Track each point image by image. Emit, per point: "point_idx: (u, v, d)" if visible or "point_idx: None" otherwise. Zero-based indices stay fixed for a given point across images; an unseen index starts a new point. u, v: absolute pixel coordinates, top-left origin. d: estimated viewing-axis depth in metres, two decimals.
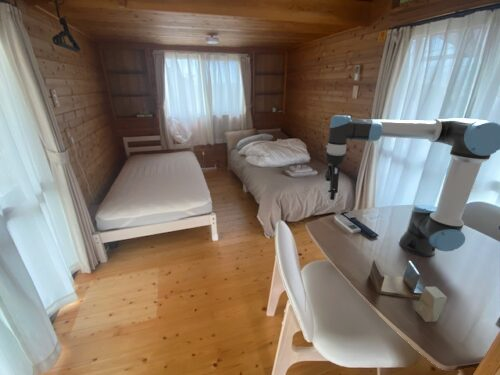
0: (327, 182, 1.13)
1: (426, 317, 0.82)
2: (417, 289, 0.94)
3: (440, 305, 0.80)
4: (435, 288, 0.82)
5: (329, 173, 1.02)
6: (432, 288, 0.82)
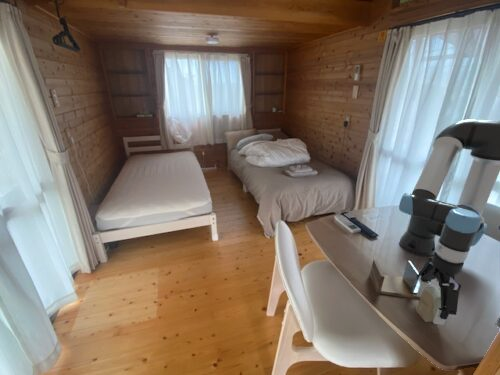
0: (424, 284, 0.86)
1: (426, 317, 0.82)
2: (417, 289, 0.94)
3: (440, 305, 0.80)
4: (435, 288, 0.82)
5: (439, 282, 0.77)
6: (432, 288, 0.82)
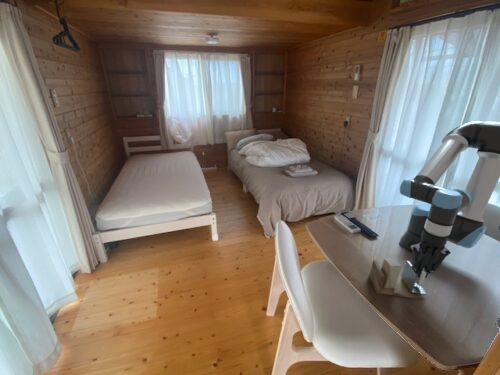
0: None
1: (385, 284, 0.94)
2: (415, 288, 0.94)
3: (395, 273, 0.92)
4: (393, 259, 0.95)
5: None
6: (390, 259, 0.94)
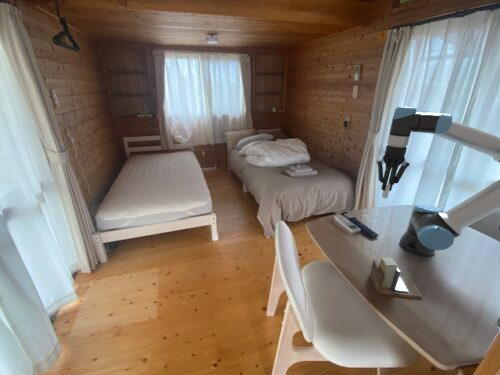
0: None
1: None
2: (398, 286, 0.95)
3: (391, 272, 0.92)
4: (390, 259, 0.95)
5: None
6: (387, 258, 0.95)
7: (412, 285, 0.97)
